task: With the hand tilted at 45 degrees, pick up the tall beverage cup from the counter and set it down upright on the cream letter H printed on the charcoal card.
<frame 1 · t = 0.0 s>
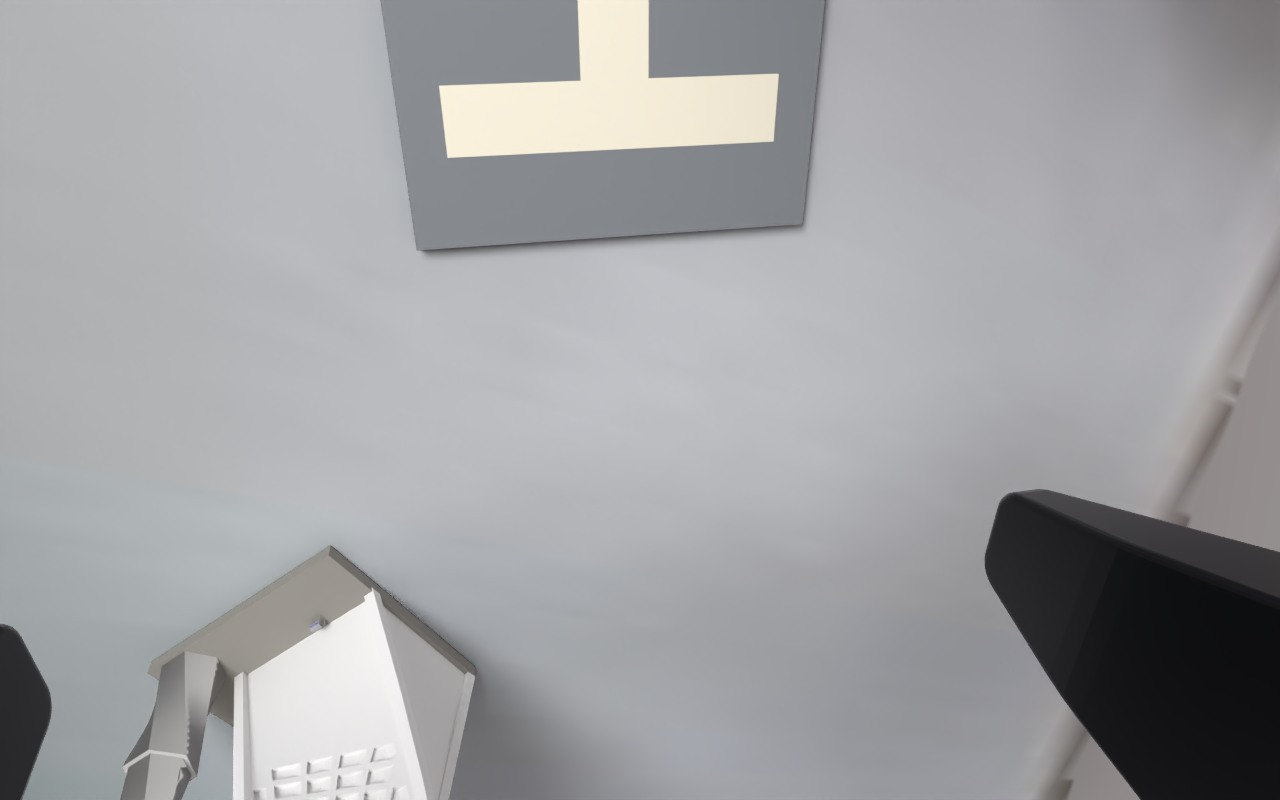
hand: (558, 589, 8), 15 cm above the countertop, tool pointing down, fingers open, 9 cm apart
skyscraper: (351, 657, 27), on the countertop
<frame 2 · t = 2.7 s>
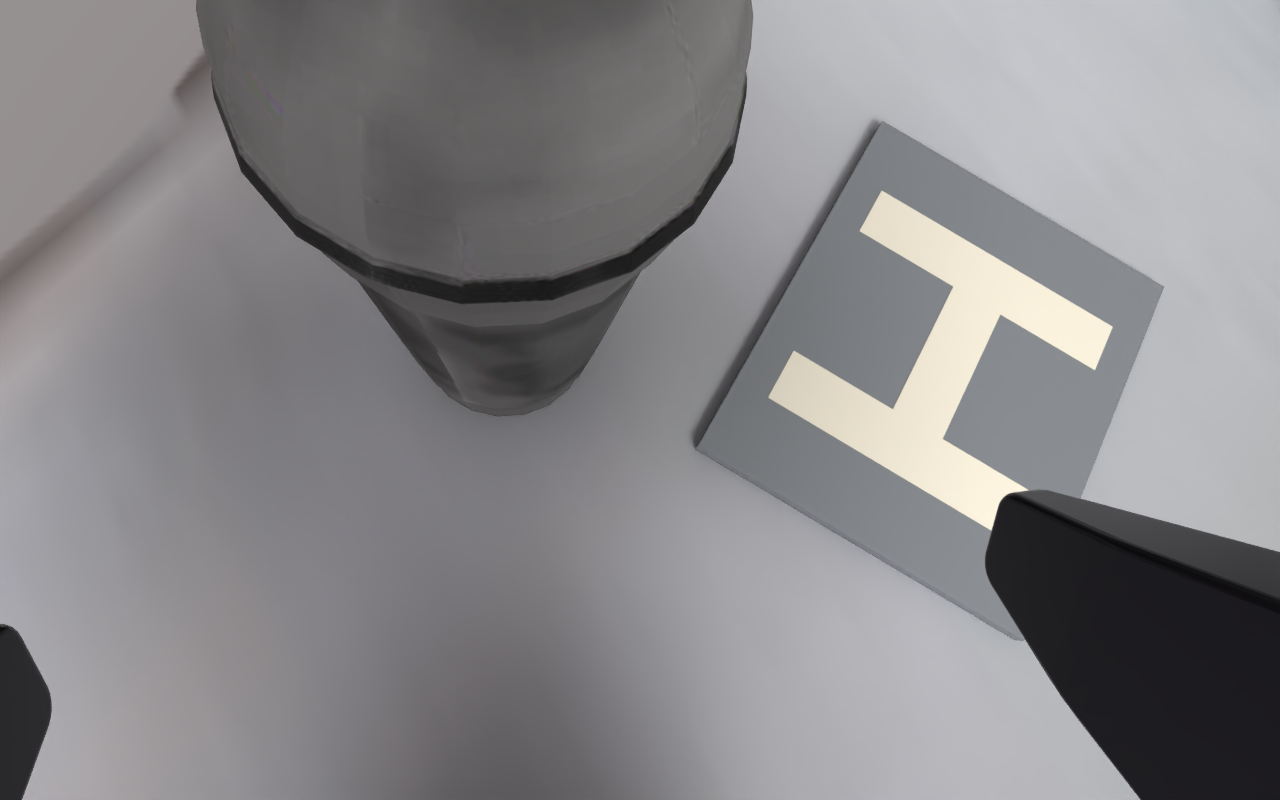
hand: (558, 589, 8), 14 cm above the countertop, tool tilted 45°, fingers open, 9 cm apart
beverage cup: (505, 338, 23), on the countertop
letter card: (941, 364, 24), on the countertop
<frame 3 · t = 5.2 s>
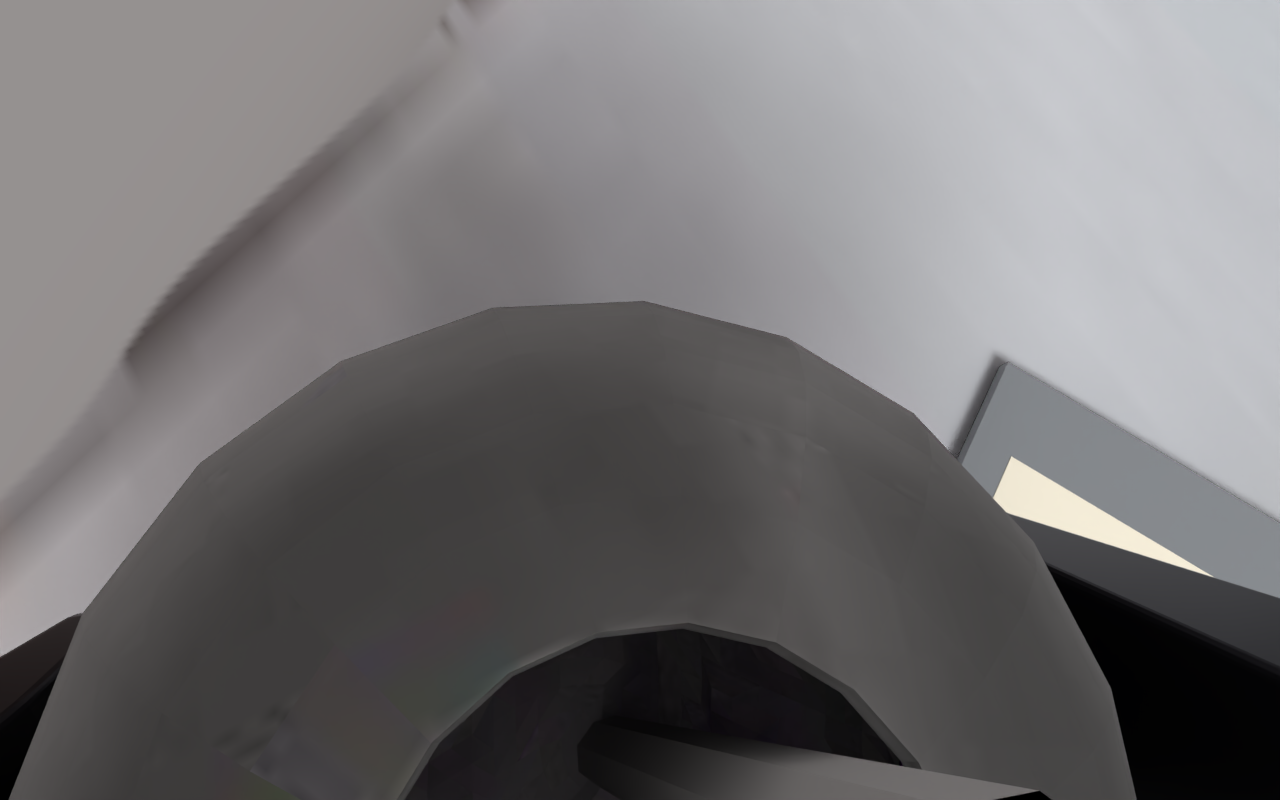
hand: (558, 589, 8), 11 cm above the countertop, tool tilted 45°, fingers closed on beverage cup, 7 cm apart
beverage cup: (545, 676, 18), on the countertop, touching gripper
letter card: (1090, 687, 19), on the countertop
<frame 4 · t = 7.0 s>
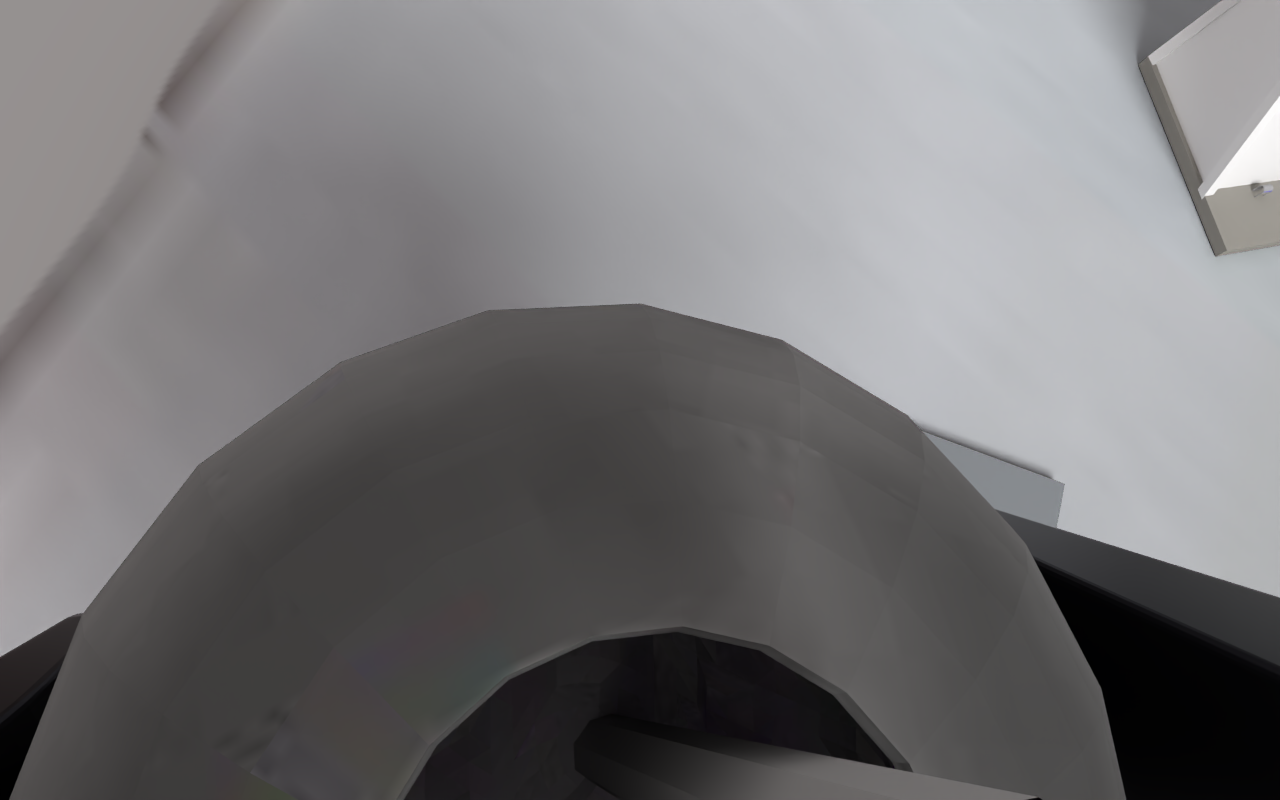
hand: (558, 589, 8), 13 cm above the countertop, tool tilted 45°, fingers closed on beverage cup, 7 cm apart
beverage cup: (542, 672, 18), point 2 cm above the countertop, touching gripper
letter card: (837, 637, 21), on the countertop
skyscraper: (1235, 135, 28), on the countertop
when the fingers open (12 cm above the countertop, at t = 8.9 s): beverage cup stays where it is, resting on letter card.
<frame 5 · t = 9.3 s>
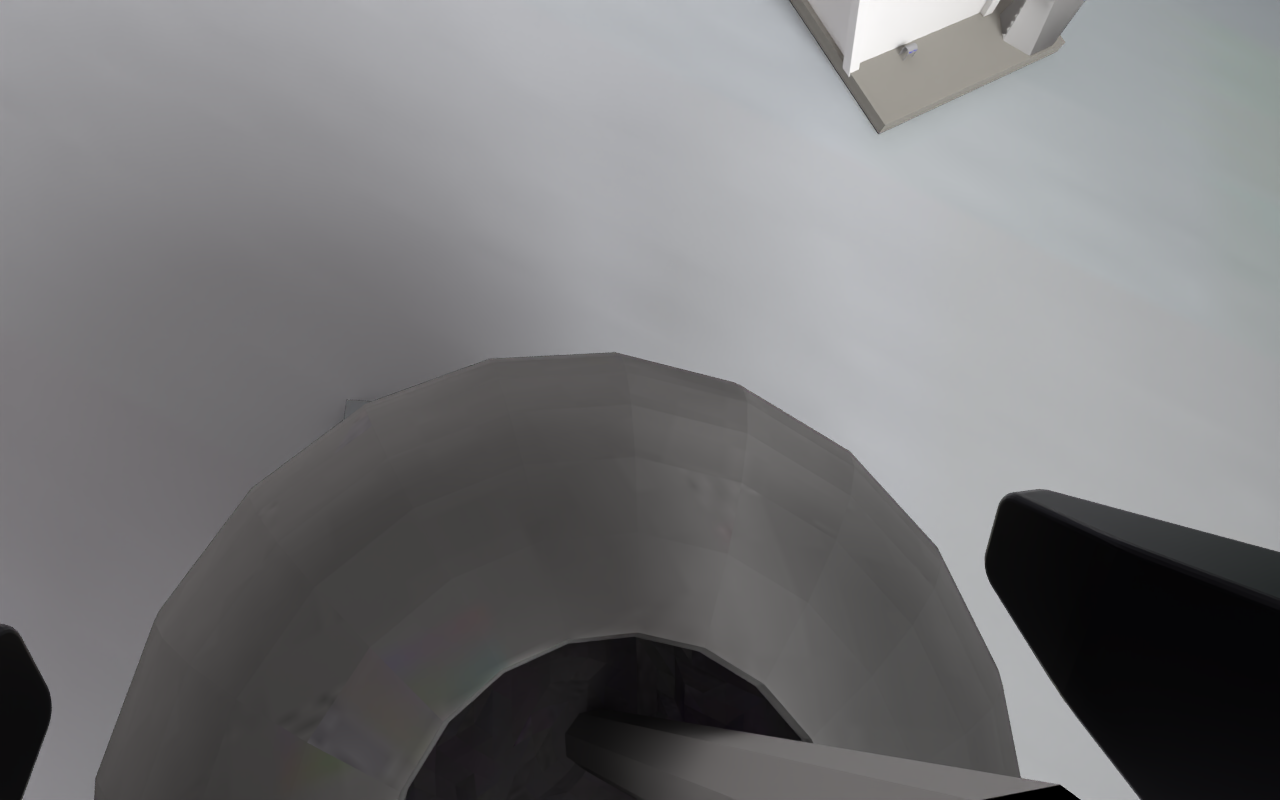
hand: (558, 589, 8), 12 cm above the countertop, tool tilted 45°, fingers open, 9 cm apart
beverage cup: (543, 673, 19), resting on letter card
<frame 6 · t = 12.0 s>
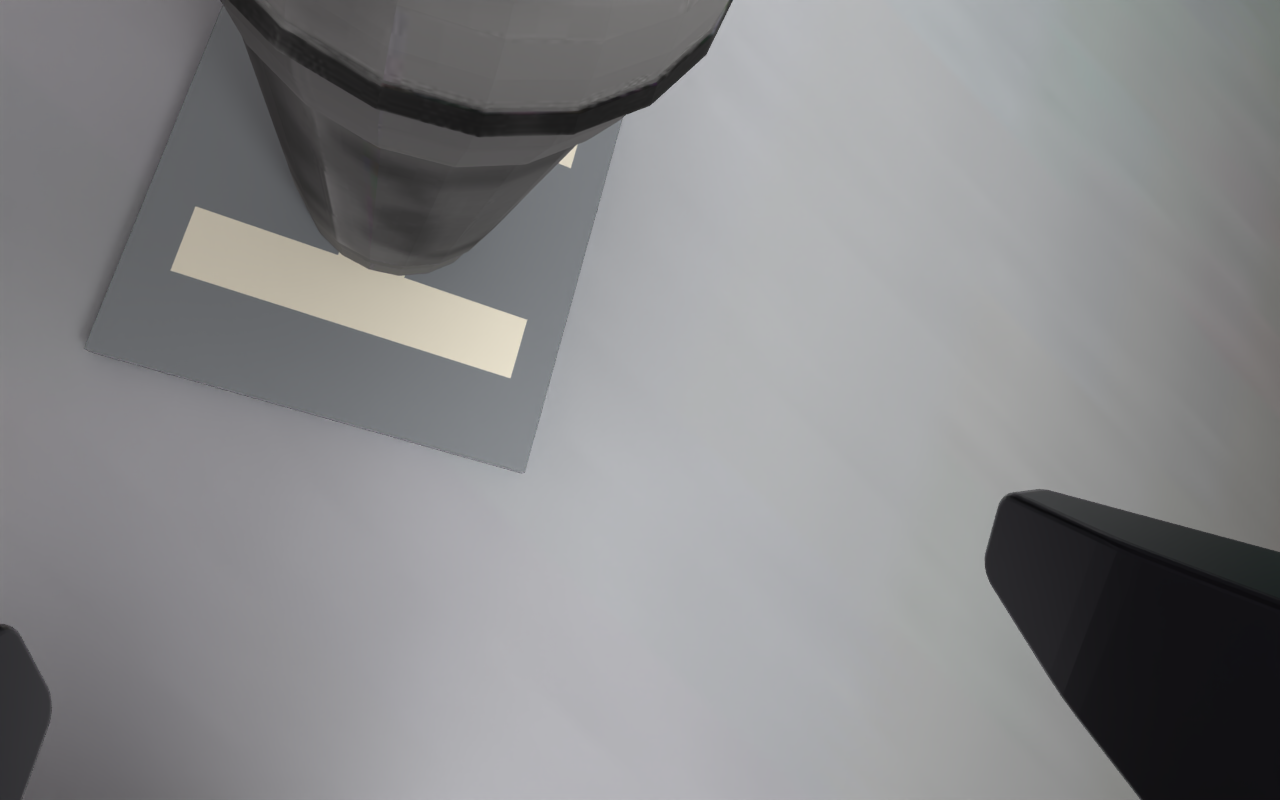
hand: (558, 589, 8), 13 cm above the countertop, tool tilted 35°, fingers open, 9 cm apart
beverage cup: (398, 189, 21), resting on letter card
letter card: (397, 191, 21), on the countertop
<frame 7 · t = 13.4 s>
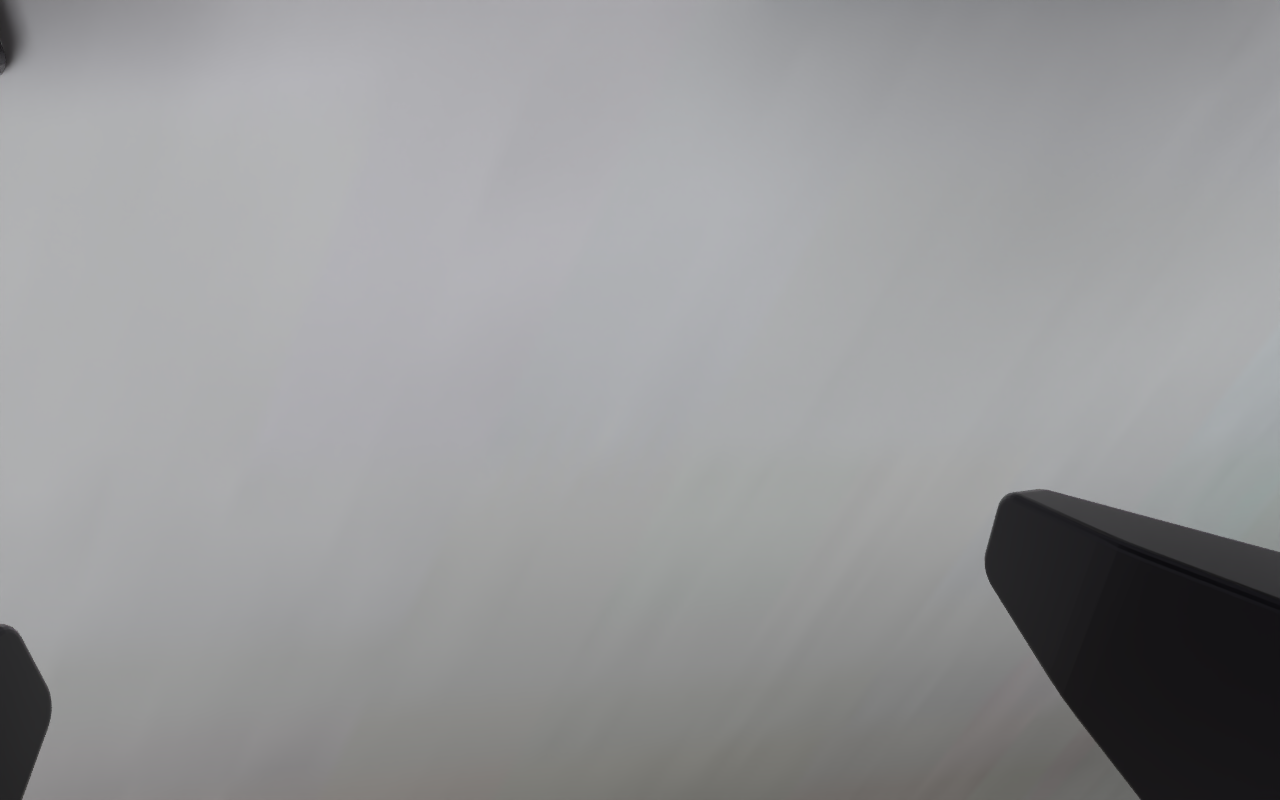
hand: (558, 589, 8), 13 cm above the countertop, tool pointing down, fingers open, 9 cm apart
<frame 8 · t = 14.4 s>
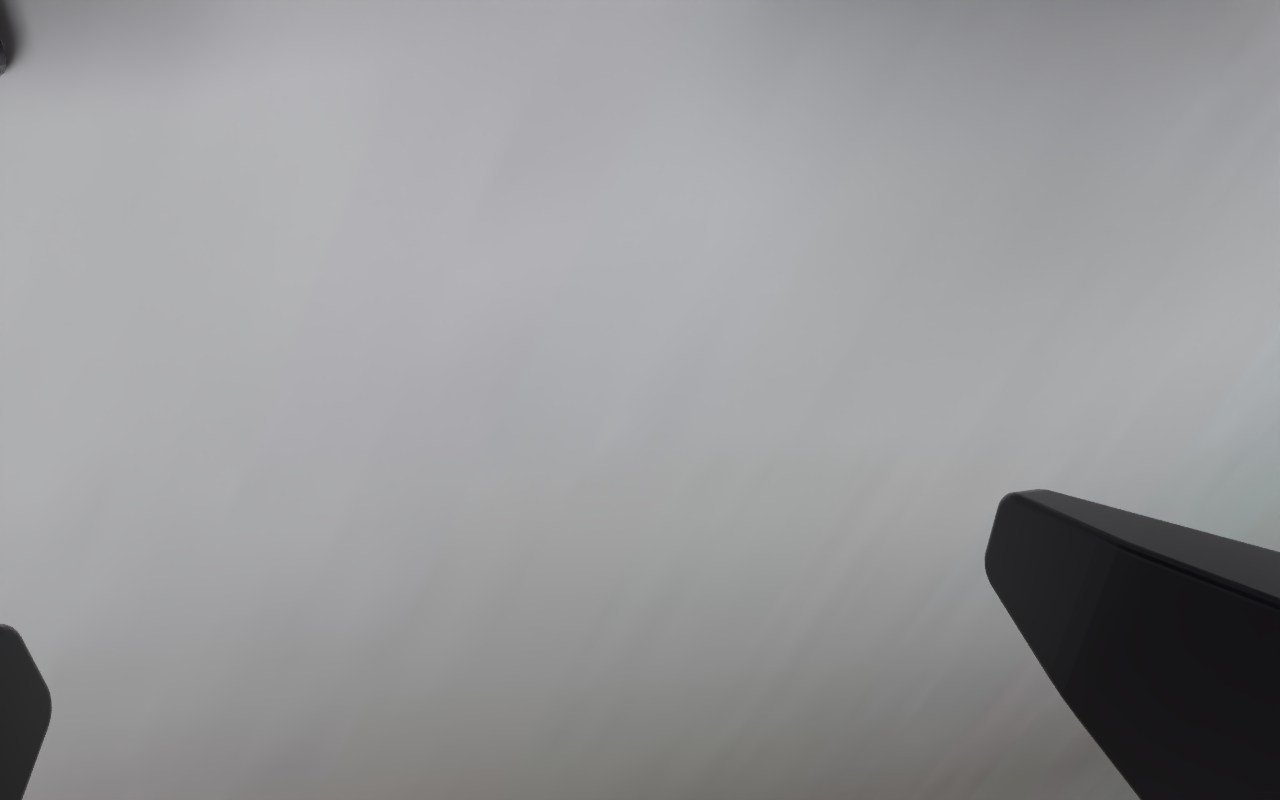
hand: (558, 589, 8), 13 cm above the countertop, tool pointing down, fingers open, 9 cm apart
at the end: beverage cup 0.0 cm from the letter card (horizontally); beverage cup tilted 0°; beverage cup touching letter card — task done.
